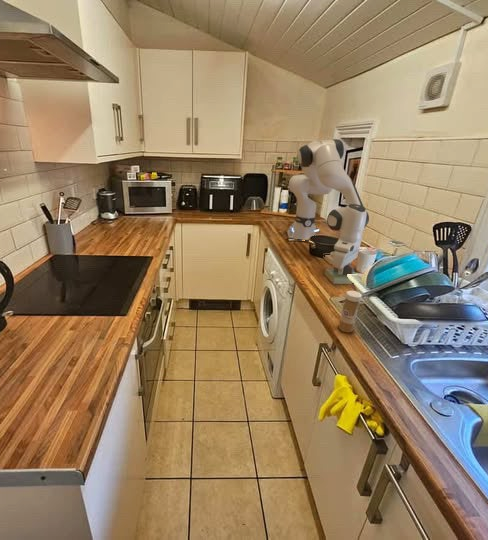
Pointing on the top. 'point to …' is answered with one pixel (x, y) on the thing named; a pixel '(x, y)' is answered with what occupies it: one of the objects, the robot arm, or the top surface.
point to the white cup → (365, 260)
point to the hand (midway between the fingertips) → (343, 272)
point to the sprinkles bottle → (349, 311)
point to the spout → (346, 269)
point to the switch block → (329, 258)
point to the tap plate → (337, 277)
